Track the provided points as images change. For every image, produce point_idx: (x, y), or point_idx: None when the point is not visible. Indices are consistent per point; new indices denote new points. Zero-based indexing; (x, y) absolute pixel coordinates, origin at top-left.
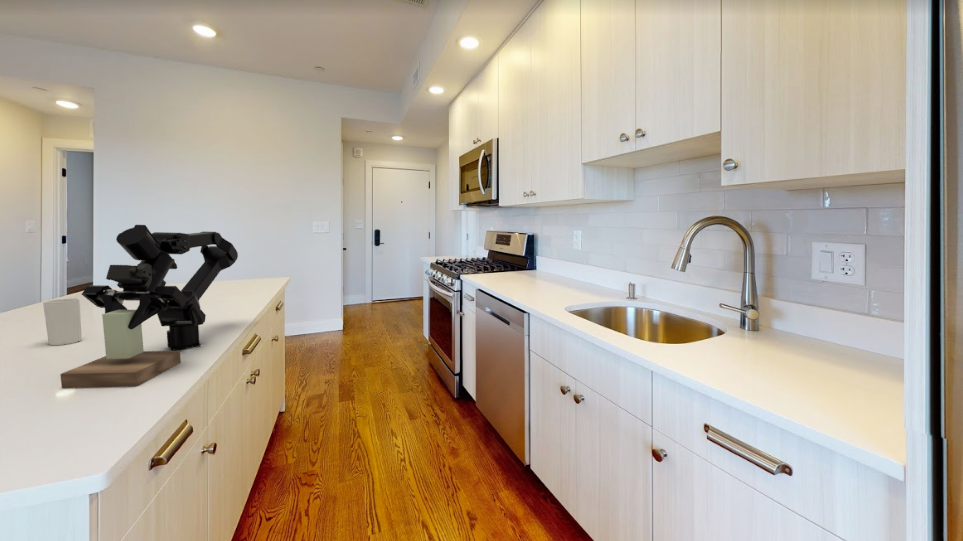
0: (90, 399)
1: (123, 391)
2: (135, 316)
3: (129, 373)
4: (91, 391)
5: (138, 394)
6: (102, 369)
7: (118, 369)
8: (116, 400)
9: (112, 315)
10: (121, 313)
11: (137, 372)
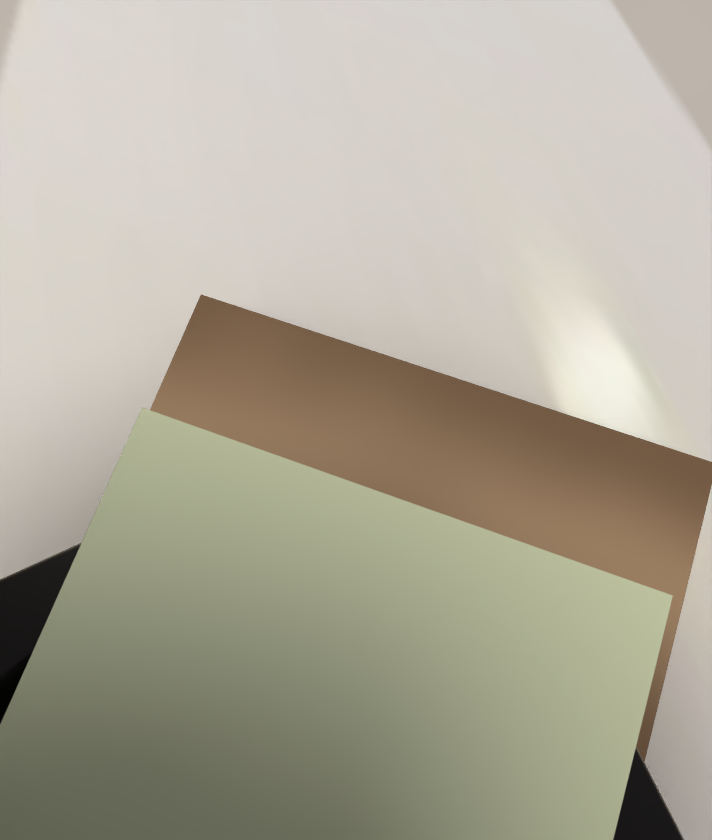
0: (408, 213)
1: (277, 273)
2: (23, 588)
3: (244, 311)
4: (455, 343)
5: (187, 195)
6: (455, 463)
7: (338, 413)
8: (272, 150)
9: (418, 507)
10: (238, 529)
11: (196, 307)
